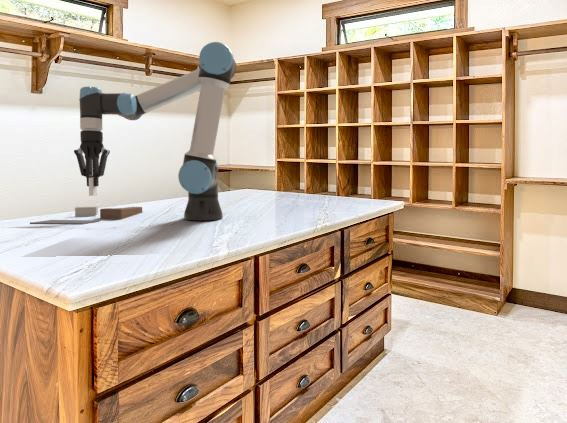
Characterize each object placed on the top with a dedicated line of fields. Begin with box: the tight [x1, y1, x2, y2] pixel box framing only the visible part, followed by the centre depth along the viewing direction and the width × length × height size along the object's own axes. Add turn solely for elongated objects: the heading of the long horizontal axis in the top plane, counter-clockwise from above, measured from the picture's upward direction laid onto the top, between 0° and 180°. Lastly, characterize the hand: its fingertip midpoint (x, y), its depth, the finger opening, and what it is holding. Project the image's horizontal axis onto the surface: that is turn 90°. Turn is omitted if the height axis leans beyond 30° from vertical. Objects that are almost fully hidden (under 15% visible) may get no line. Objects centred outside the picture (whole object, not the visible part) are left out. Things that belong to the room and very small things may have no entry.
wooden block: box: [99, 206, 143, 220], centre depth 194 cm, size 9×4×18 cm
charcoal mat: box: [29, 219, 102, 225], centre depth 176 cm, size 20×13×1 cm, turn 83°
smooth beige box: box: [74, 205, 99, 217], centre depth 196 cm, size 8×8×5 cm
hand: (92, 195), depth 174 cm, fingers closed
